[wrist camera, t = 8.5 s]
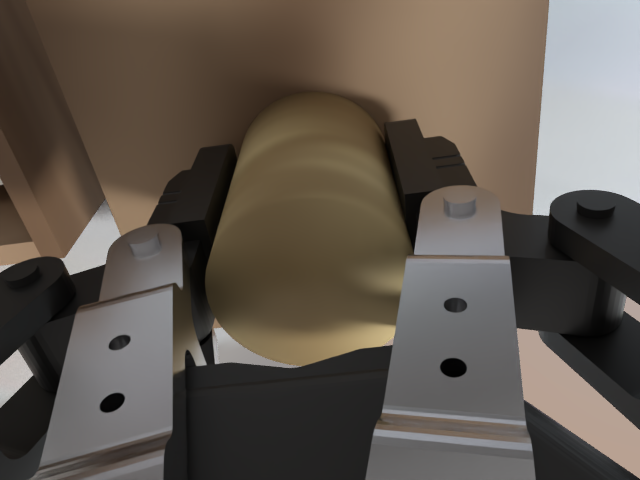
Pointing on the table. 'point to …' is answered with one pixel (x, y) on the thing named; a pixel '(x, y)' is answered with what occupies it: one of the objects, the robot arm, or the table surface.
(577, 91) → the table surface
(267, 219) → the lid
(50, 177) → the box
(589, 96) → the table surface
